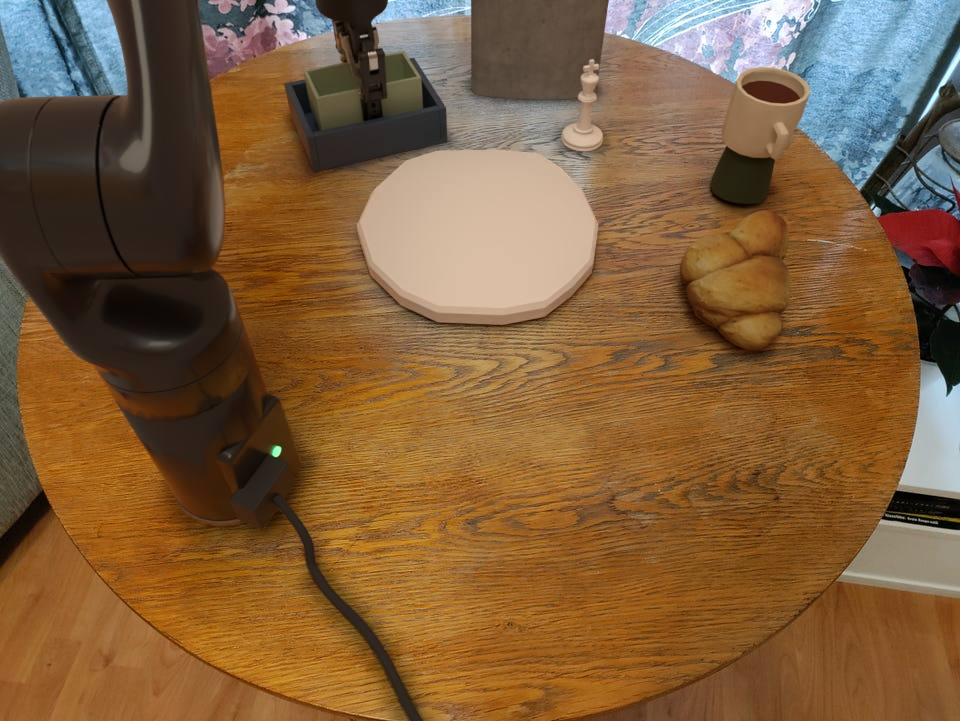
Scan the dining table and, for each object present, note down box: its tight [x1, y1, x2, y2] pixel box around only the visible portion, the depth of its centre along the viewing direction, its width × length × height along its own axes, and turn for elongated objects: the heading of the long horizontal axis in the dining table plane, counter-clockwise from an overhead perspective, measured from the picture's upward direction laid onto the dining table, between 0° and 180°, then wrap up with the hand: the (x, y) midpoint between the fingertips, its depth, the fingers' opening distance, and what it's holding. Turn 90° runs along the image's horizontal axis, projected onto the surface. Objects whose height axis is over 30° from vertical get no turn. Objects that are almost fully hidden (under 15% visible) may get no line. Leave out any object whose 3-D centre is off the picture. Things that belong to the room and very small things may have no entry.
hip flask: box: [470, 0, 610, 101], centre depth 89 cm, size 16×4×20 cm, turn 88°
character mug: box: [709, 66, 811, 205], centre depth 80 cm, size 11×7×13 cm, turn 6°
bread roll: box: [678, 209, 792, 351], centre depth 70 cm, size 13×10×8 cm
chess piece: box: [560, 59, 604, 152], centre depth 87 cm, size 5×5×10 cm
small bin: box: [303, 50, 423, 131], centre depth 88 cm, size 12×6×5 cm, turn 111°
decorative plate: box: [355, 149, 600, 326], centre depth 78 cm, size 25×4×25 cm
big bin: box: [283, 57, 448, 173], centre depth 90 cm, size 16×12×5 cm
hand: (365, 108), depth 89 cm, fingers closed on small bin, 6 cm apart
